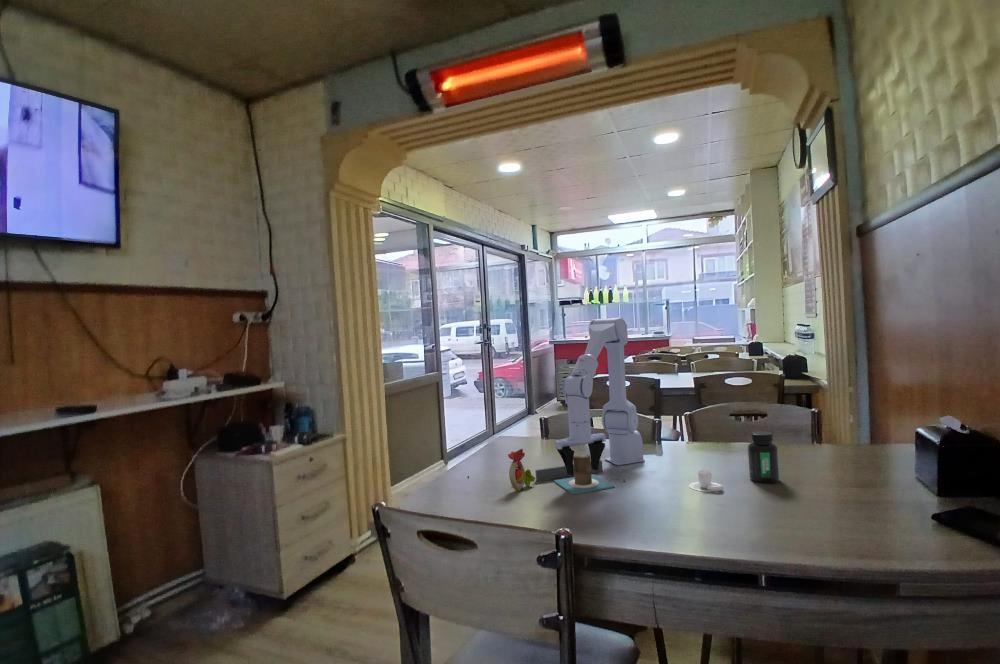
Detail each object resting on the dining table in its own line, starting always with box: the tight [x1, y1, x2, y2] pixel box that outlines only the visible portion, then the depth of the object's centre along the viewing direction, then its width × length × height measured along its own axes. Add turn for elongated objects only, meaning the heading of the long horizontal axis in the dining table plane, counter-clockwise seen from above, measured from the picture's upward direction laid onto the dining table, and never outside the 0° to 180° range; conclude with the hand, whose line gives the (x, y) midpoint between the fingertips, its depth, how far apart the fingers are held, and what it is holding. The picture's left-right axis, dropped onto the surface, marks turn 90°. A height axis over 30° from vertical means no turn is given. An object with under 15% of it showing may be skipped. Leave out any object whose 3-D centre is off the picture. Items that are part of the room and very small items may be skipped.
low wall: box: [534, 459, 603, 482], centre depth 147 cm, size 20×1×3 cm, turn 106°
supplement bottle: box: [747, 430, 780, 485], centre depth 132 cm, size 7×7×12 cm
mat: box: [553, 473, 616, 495], centre depth 138 cm, size 12×12×1 cm
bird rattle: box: [507, 448, 536, 493], centre depth 138 cm, size 6×11×9 cm
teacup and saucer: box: [689, 470, 724, 493], centre depth 130 cm, size 9×8×4 cm
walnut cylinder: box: [573, 453, 592, 485], centre depth 138 cm, size 4×4×7 cm
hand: (582, 471), depth 138 cm, fingers open, 7 cm apart
